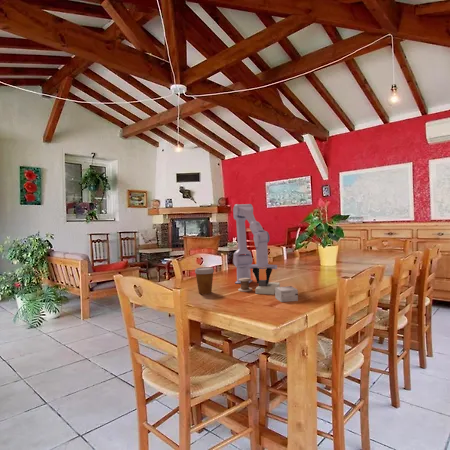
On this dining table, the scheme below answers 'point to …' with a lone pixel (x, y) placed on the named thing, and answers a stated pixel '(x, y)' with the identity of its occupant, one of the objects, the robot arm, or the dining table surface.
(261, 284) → the block
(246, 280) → the bobbin post
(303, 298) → the dining table surface
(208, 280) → the disposable coffee cup
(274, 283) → the notch board
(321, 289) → the dining table surface
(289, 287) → the small box
